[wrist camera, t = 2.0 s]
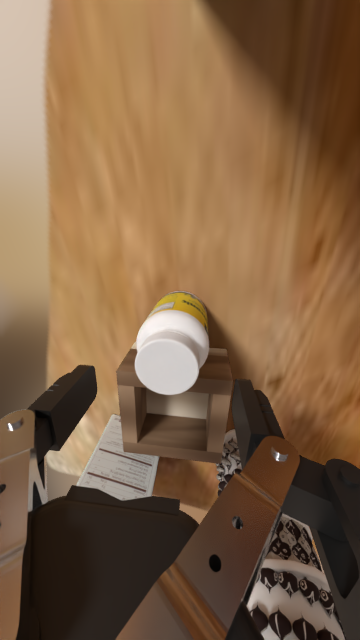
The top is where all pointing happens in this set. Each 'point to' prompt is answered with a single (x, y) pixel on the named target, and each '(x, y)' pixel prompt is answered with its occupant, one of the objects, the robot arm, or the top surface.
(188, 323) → the supplement bottle
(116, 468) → the supplement box
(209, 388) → the socket block
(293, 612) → the decorative candle
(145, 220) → the top surface
